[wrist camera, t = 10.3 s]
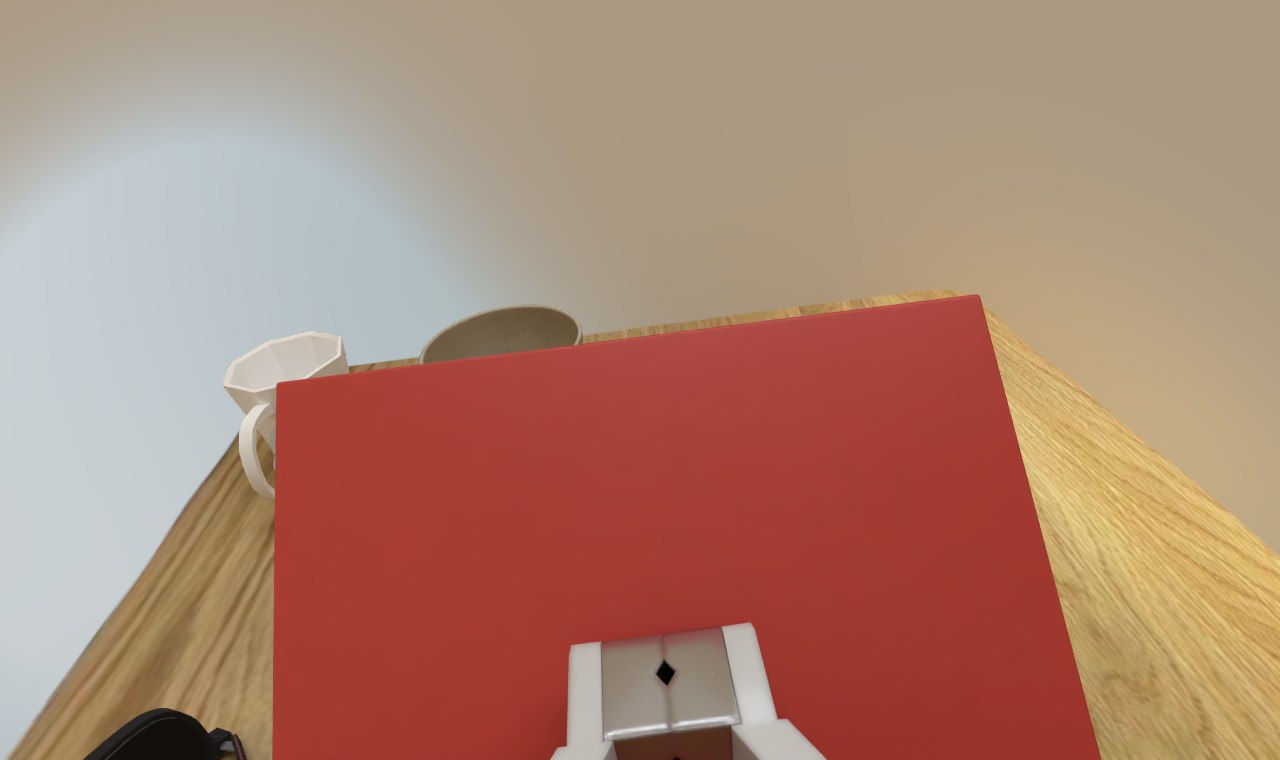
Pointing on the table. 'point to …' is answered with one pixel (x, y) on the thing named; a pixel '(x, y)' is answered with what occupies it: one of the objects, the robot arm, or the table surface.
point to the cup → (257, 382)
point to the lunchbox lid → (672, 540)
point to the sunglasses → (167, 739)
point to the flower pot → (504, 333)
